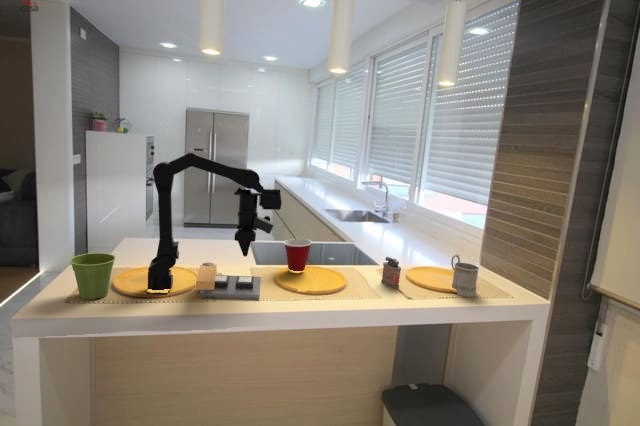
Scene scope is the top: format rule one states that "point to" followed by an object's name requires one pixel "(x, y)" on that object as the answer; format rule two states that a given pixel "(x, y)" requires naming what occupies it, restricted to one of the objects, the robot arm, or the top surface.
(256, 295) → the power supply chassis
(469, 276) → the mug
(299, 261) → the plastic cup
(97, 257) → the plant pot
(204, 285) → the wooden plank
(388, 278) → the lighter
